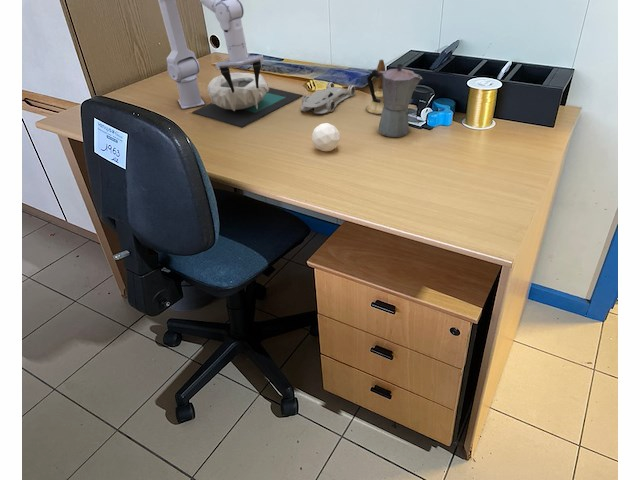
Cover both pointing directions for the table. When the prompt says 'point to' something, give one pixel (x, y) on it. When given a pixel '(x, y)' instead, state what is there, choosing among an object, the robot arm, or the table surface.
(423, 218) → the table surface
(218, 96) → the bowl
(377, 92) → the hand bell
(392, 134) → the moka pot
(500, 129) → the table surface
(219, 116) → the mat
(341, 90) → the car model
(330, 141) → the ball
